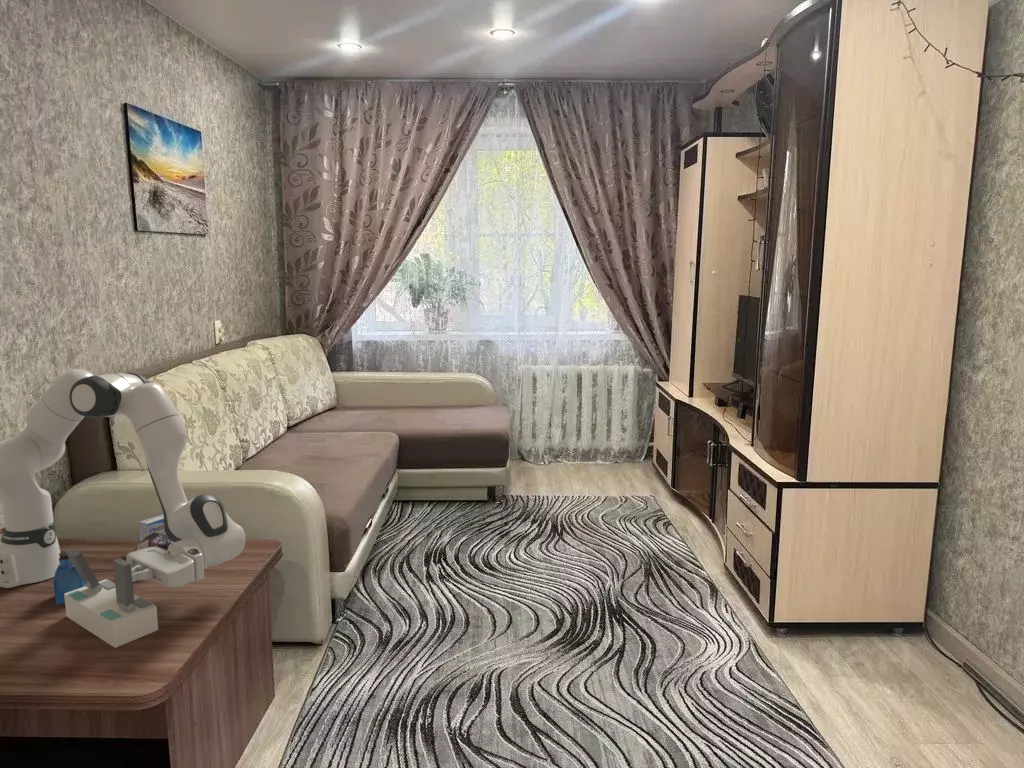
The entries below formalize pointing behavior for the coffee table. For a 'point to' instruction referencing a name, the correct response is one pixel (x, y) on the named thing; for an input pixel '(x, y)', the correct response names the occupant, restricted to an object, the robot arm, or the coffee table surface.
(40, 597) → the coffee table surface
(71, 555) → the inner lever
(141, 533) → the medicine box
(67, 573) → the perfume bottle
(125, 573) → the outer lever
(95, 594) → the switch unit
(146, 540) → the mineral specimen
